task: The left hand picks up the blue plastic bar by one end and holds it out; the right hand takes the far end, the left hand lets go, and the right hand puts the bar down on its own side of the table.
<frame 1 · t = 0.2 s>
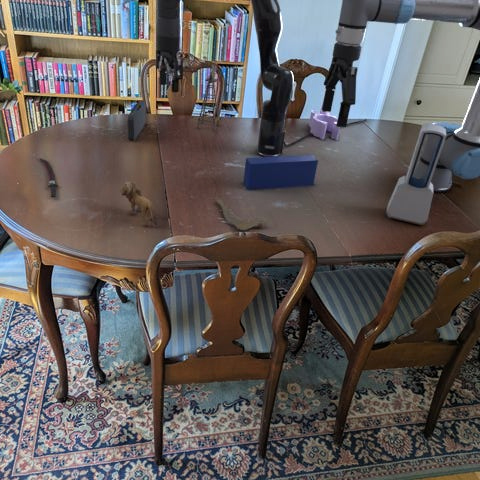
left hand: (168, 88, 148), 29 cm above the table, tool pointing down, fingers open, 8 cm apart
right hand: (333, 118, 140), 28 cm above the table, tool pointing down, fingers open, 13 cm apart
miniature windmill: (208, 127, 205), on the table
clip: (321, 132, 214), on the table
handheld gaming console: (137, 131, 193), on the table
electronic device: (405, 218, 150), on the table
bar: (278, 184, 163), on the table
lion figurine: (139, 216, 136), on the table
jawbone: (241, 215, 142), on the table
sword: (47, 177, 151), on the table
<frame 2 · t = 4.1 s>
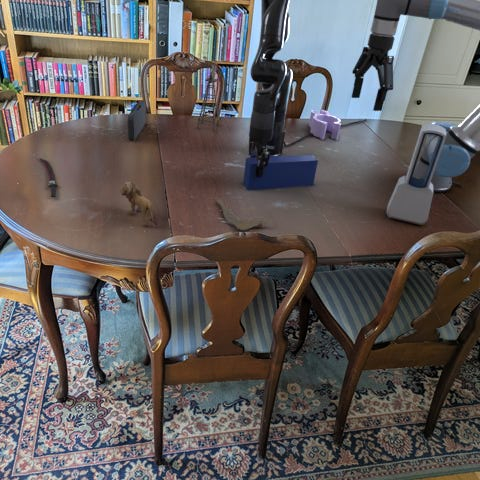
left hand: (256, 172, 158), 5 cm above the table, tool pointing down, fingers closed on bar, 5 cm apart
right hand: (365, 103, 154), 29 cm above the table, tool pointing down, fingers open, 13 cm apart
bar: (278, 184, 163), on the table, touching left hand
everything else where it was.
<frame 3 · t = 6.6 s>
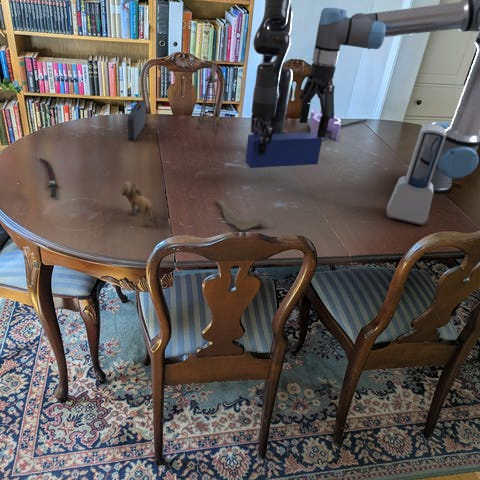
left hand: (258, 150, 153), 13 cm above the table, tool pointing down, fingers closed on bar, 5 cm apart
right hand: (311, 129, 155), 19 cm above the table, tool pointing down, fingers open, 13 cm apart
bar: (281, 163, 159), point 8 cm above the table, touching left hand
everything else where it was.
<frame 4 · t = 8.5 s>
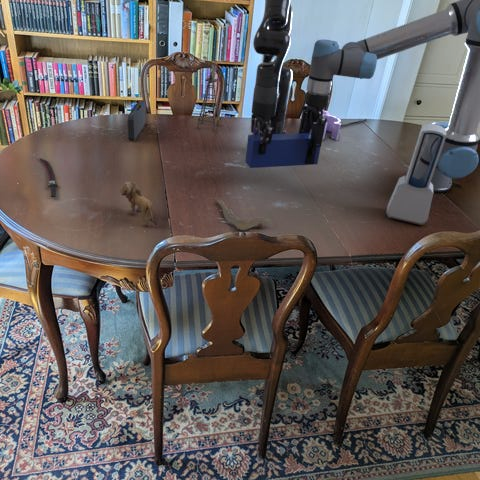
left hand: (258, 150, 153), 13 cm above the table, tool pointing down, fingers closed on bar, 5 cm apart
right hand: (305, 160, 161), 9 cm above the table, tool pointing down, fingers closed on bar, 5 cm apart
bar: (281, 163, 159), point 8 cm above the table, touching left hand, right hand
everything else where it was.
when the left hand's fingers open (13 cm above the table, at t = 9.3 s): bar stays where it is, held by the right hand.
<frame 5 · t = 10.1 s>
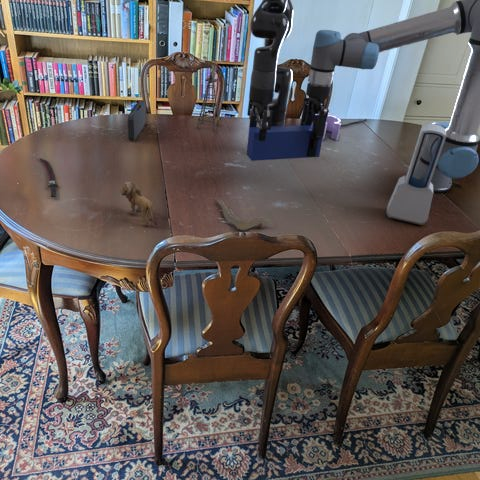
left hand: (256, 135, 150), 18 cm above the table, tool pointing down, fingers open, 8 cm apart
right hand: (307, 152, 160), 11 cm above the table, tool pointing down, fingers closed on bar, 5 cm apart
bar: (283, 155, 157), point 11 cm above the table, touching right hand
everything else where it was.
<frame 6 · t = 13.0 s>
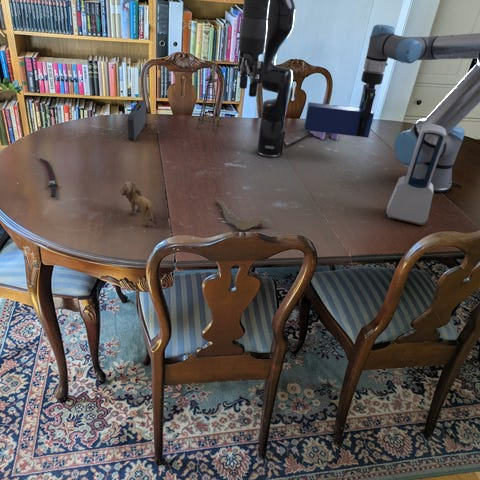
left hand: (247, 92, 141), 32 cm above the table, tool pointing down, fingers open, 8 cm apart
right hand: (359, 132, 182), 11 cm above the table, tool pointing down, fingers closed on bar, 5 cm apart
bar: (335, 131, 183), point 11 cm above the table, touching right hand
everything else where it was.
when the right hand's fingers open (2 cm above the table, at t = 17.6 s): bar drops 1 cm, on the table.
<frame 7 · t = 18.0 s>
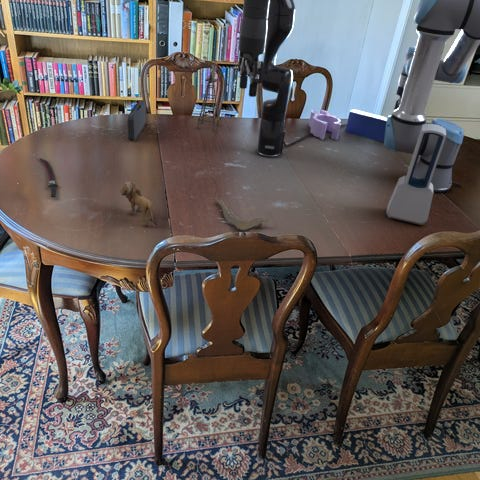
left hand: (247, 92, 141), 32 cm above the table, tool pointing down, fingers open, 8 cm apart
right hand: (393, 135, 209), 3 cm above the table, tool pointing down, fingers open, 11 cm apart
bar: (372, 137, 214), on the table
everything else where it was.
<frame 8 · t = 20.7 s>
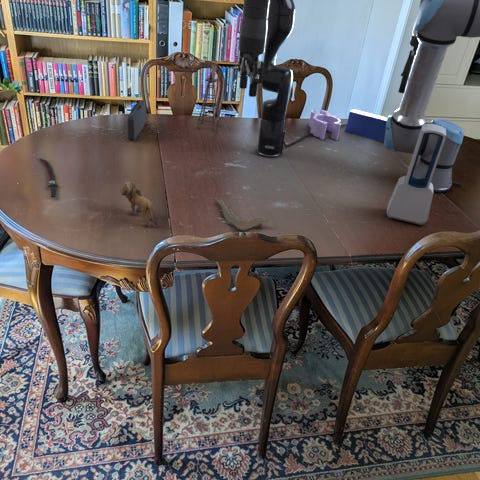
left hand: (247, 92, 141), 32 cm above the table, tool pointing down, fingers open, 8 cm apart
right hand: (406, 90, 198), 23 cm above the table, tool pointing down, fingers open, 13 cm apart
nothing on the table moved.
at the end: bar inside the target area (9.0 cm from its centre), on the table; the left hand is holding nothing; the right hand is holding nothing; bar at rest at the end (0.0 cm/s) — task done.
